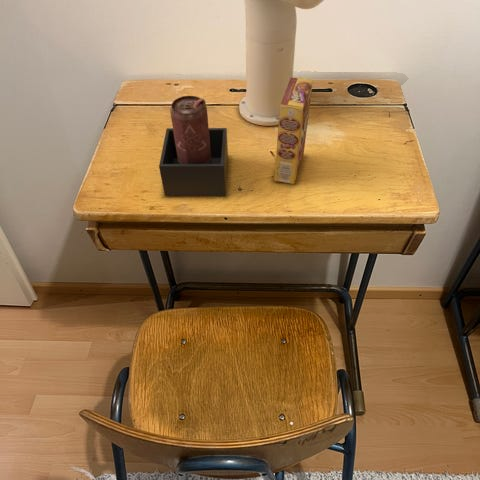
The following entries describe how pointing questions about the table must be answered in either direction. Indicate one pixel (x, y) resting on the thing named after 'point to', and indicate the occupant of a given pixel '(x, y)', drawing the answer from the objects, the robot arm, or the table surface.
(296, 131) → the candy box
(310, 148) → the table surface
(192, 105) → the can
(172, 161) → the bin
